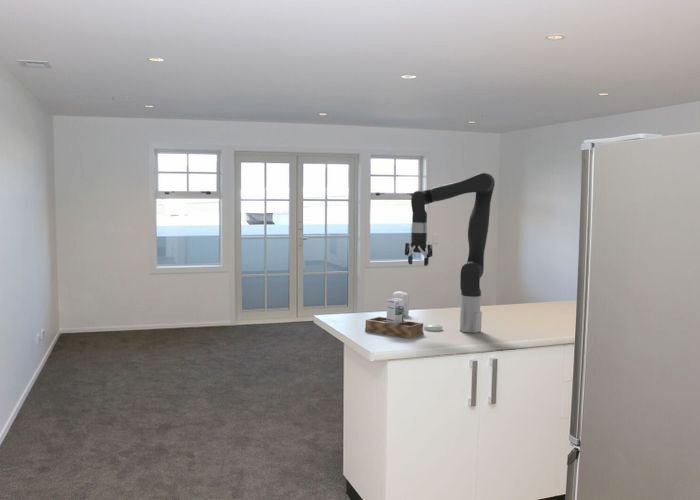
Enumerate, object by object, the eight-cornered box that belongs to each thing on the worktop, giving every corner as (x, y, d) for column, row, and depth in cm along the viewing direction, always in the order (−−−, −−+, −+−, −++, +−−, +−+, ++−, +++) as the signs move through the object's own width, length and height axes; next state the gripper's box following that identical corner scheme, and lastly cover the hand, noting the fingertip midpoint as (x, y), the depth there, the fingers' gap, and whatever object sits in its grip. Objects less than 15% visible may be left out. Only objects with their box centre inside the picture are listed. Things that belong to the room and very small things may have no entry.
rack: (423, 334, 313) (423, 323, 312) (408, 338, 302) (409, 327, 302) (380, 327, 327) (380, 316, 326) (364, 331, 316) (365, 320, 316)
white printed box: (390, 313, 365) (391, 290, 364) (396, 312, 368) (397, 290, 367) (403, 316, 357) (404, 293, 356) (409, 315, 360) (410, 292, 359)
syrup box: (394, 331, 310) (395, 300, 309) (385, 329, 315) (386, 298, 314) (403, 330, 314) (404, 299, 312) (395, 328, 318) (396, 297, 317)
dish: (445, 329, 325) (445, 325, 325) (436, 332, 318) (436, 328, 318) (429, 327, 331) (429, 323, 331) (420, 330, 324) (420, 325, 323)
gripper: (435, 232, 328) (434, 265, 329) (410, 230, 336) (409, 263, 337) (428, 232, 322) (427, 266, 323) (402, 231, 330) (401, 264, 331)
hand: (418, 264), depth 330 cm, fingers open, 8 cm apart
